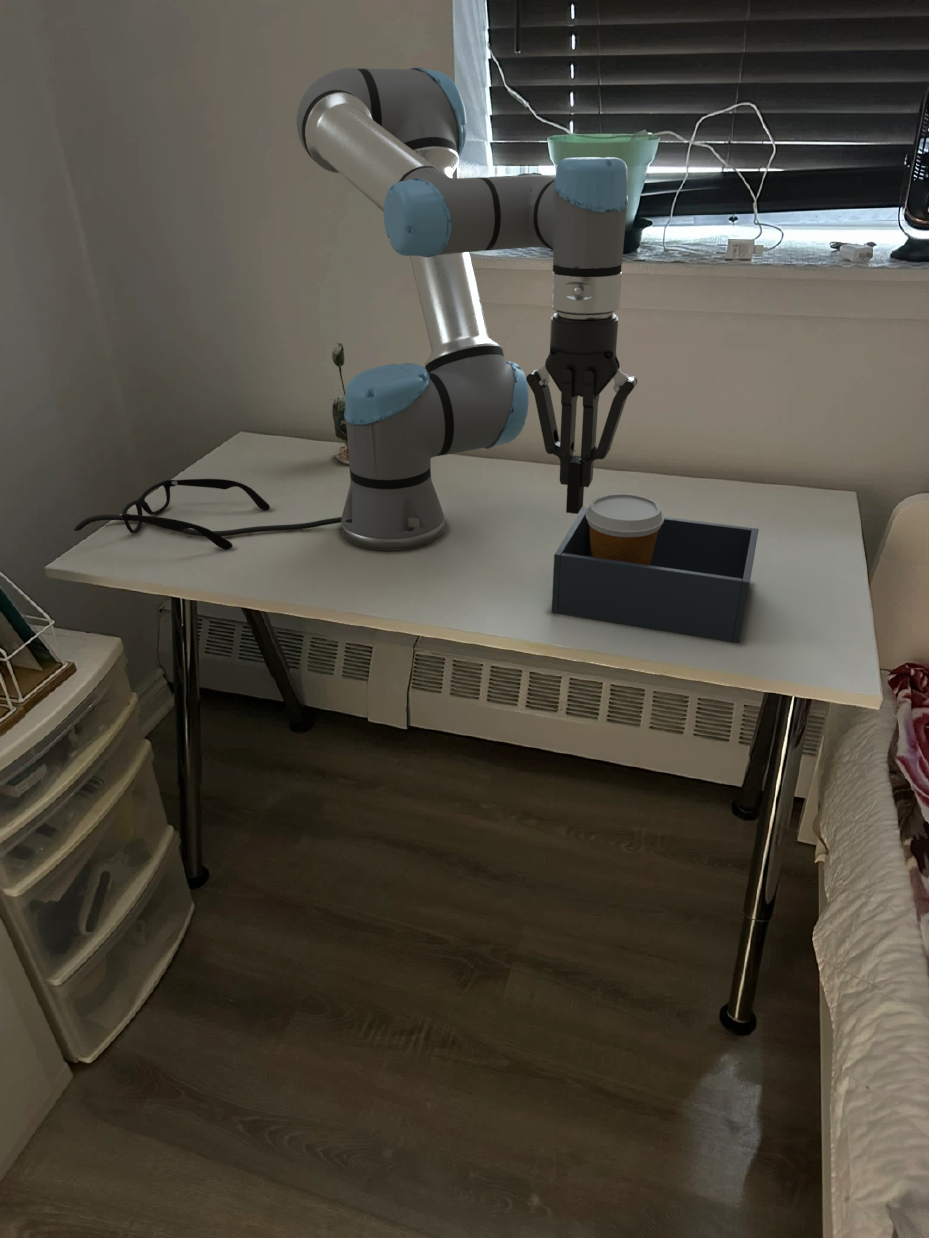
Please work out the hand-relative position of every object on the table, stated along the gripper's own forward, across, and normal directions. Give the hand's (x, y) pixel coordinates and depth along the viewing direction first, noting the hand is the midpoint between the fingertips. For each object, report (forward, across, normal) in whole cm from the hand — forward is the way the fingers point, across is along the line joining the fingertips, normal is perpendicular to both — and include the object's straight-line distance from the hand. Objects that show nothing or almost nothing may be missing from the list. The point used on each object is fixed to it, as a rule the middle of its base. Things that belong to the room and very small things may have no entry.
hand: (574, 509), depth 111 cm
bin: (+11, +11, 0) cm, 15 cm away
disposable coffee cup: (+11, +6, 0) cm, 13 cm away
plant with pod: (+11, -49, +35) cm, 61 cm away
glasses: (+11, -58, +1) cm, 59 cm away
